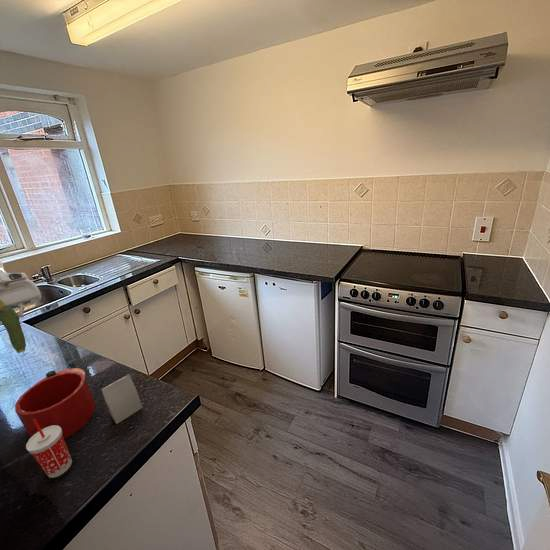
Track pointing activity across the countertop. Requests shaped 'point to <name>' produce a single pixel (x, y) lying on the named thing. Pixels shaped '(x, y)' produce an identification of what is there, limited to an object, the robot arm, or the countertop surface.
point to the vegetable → (12, 327)
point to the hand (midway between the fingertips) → (10, 321)
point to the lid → (63, 372)
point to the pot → (57, 404)
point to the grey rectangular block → (122, 399)
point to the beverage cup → (50, 450)
